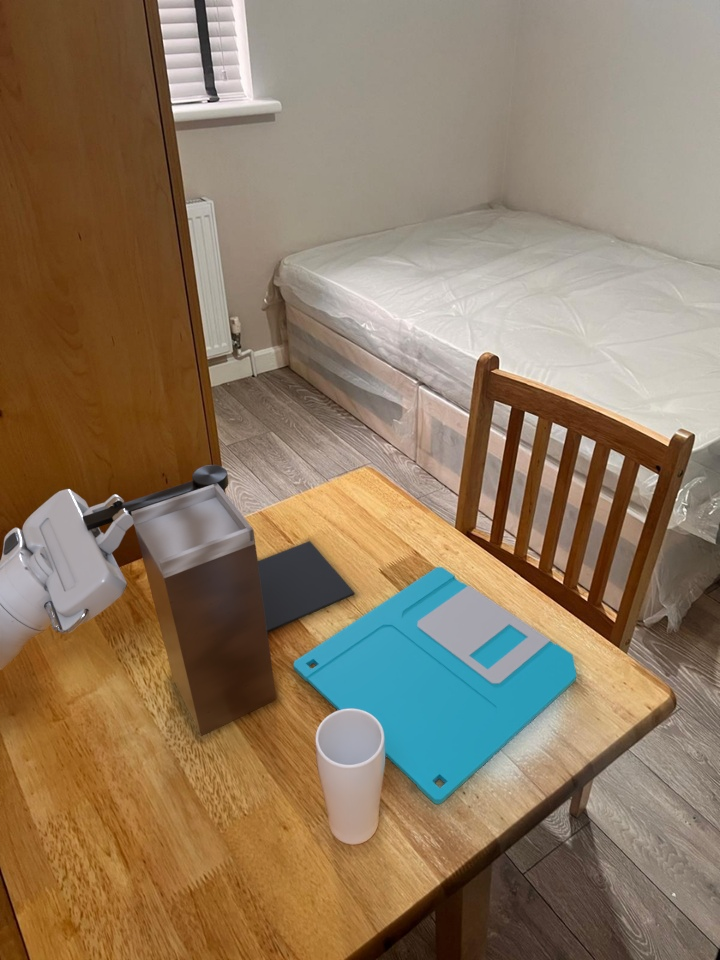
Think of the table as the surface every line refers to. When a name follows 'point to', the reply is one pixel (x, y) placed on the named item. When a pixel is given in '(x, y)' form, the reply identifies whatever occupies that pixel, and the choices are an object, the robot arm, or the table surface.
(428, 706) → the diskette
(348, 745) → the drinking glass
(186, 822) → the table surface
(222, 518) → the stand
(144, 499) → the lever handle
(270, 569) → the mat
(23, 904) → the table surface
